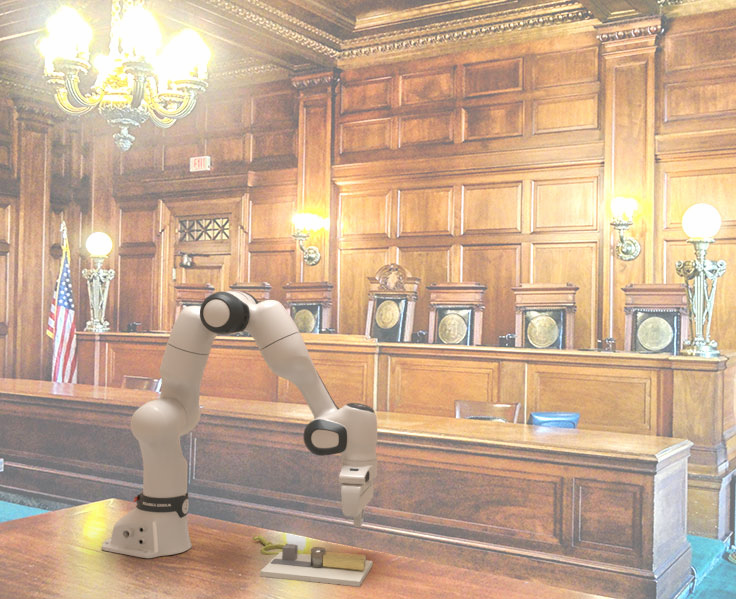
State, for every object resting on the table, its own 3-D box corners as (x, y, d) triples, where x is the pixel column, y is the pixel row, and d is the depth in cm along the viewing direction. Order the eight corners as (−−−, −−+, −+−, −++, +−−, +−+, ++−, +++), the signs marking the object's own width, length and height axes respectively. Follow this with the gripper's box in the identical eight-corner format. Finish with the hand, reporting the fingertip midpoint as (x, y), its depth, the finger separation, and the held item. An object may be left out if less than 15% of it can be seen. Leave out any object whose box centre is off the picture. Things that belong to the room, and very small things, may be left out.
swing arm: (308, 566, 191) (309, 551, 191) (312, 561, 195) (313, 546, 195) (362, 571, 189) (363, 556, 188) (365, 566, 192) (366, 551, 192)
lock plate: (260, 576, 188) (260, 557, 188) (279, 556, 202) (280, 539, 202) (359, 586, 183) (360, 567, 183) (372, 565, 198) (372, 548, 198)
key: (259, 541, 216) (259, 533, 216) (291, 552, 208) (291, 544, 208) (239, 547, 210) (239, 539, 210) (271, 558, 202) (271, 550, 202)
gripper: (355, 460, 208) (355, 513, 208) (337, 477, 188) (336, 536, 188) (379, 462, 207) (378, 515, 207) (363, 479, 187) (362, 538, 186)
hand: (358, 525), depth 197 cm, fingers closed
